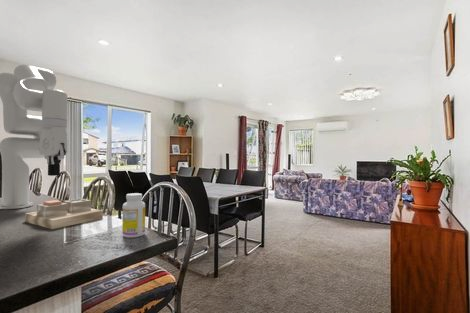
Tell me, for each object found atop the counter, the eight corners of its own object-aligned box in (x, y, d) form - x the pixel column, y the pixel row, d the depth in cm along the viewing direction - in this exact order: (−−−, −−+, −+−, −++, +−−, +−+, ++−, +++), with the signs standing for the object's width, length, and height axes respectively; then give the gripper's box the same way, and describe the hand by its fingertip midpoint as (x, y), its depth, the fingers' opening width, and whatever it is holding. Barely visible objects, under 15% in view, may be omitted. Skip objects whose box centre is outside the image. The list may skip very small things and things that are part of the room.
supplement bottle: (137, 230, 87) (138, 192, 87) (149, 234, 82) (149, 194, 82) (118, 235, 81) (118, 194, 81) (129, 240, 77) (129, 196, 77)
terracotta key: (43, 210, 93) (43, 201, 93) (55, 208, 97) (55, 200, 97) (49, 211, 92) (49, 202, 92) (61, 209, 95) (61, 201, 95)
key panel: (25, 221, 95) (25, 203, 95) (75, 212, 110) (75, 196, 110) (52, 229, 86) (52, 209, 86) (102, 218, 102) (102, 201, 102)
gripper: (31, 124, 95) (31, 175, 95) (54, 122, 87) (54, 177, 88) (54, 126, 101) (53, 173, 101) (77, 124, 94) (76, 175, 94)
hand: (53, 175), depth 94 cm, fingers closed
